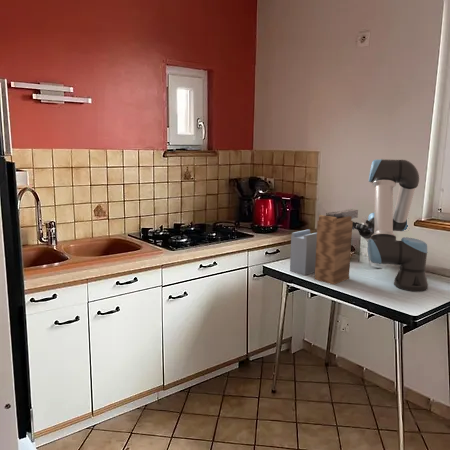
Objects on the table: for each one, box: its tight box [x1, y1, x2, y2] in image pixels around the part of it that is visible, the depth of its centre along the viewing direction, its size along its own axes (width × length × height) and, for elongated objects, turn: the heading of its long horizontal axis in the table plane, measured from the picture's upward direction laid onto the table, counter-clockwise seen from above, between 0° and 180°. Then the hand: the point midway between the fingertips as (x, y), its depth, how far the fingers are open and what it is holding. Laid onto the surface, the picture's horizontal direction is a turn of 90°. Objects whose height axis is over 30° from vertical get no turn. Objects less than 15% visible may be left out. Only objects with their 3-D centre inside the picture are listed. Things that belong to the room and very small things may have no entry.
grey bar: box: [325, 208, 359, 220], centre depth 229 cm, size 5×22×4 cm, turn 133°
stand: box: [314, 214, 354, 285], centre depth 228 cm, size 11×14×33 cm
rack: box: [289, 229, 317, 276], centre depth 243 cm, size 10×14×21 cm
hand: (350, 216), depth 236 cm, fingers open, 13 cm apart
